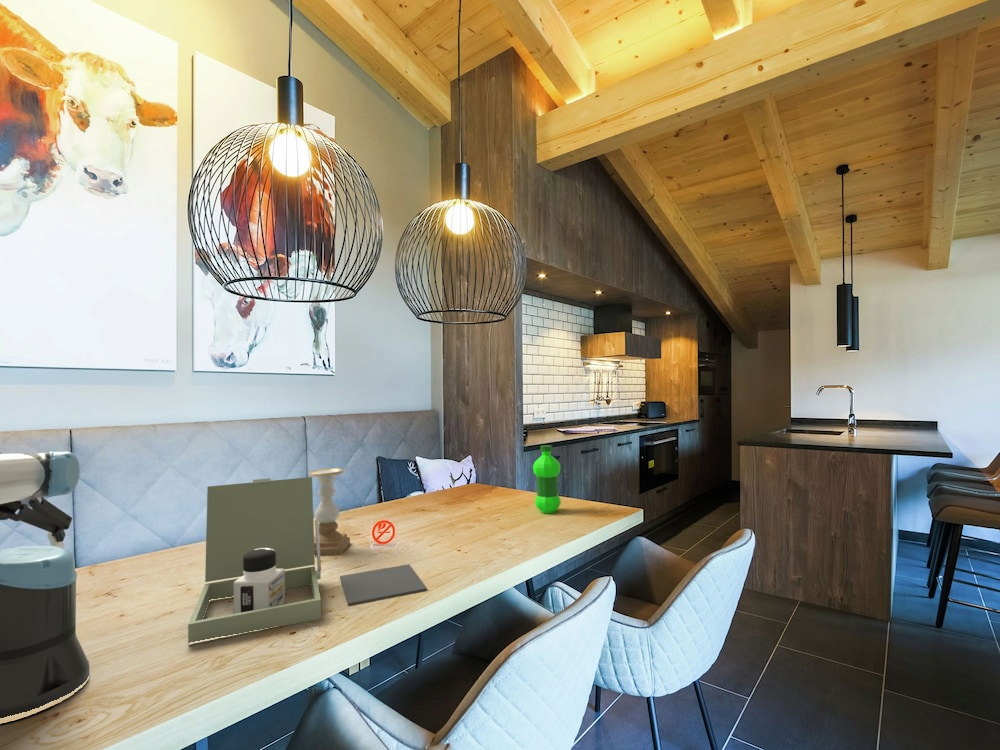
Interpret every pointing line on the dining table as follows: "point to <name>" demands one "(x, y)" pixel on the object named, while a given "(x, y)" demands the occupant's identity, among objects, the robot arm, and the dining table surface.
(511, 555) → the dining table surface
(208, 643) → the dining table surface
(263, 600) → the container
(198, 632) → the case
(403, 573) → the mat
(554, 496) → the plastic bottle
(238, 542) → the lid
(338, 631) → the dining table surface
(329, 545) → the candle holder
